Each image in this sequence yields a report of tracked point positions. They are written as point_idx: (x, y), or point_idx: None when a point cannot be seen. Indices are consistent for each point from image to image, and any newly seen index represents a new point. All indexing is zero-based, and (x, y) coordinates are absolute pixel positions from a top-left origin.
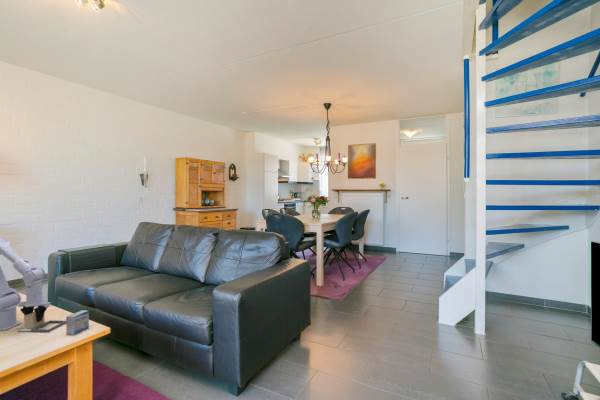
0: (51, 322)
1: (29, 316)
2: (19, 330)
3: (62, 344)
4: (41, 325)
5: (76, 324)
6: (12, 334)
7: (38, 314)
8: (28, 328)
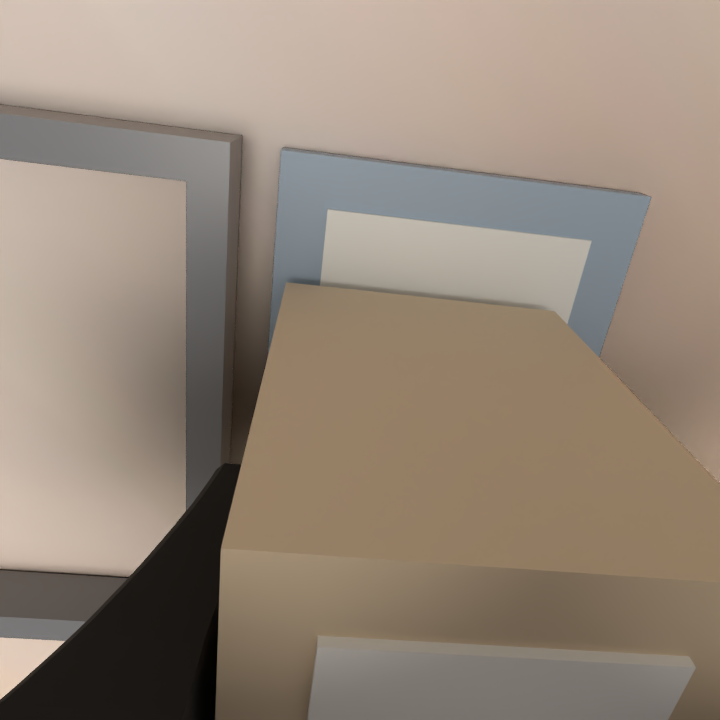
0: None
1: (461, 542)
2: (618, 225)
3: None
4: (191, 428)
5: None
6: (681, 14)
7: (7, 698)
8: None
